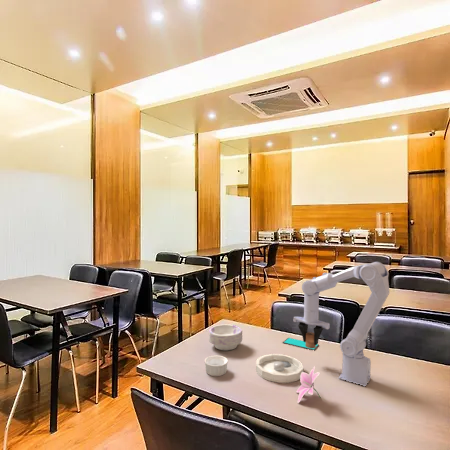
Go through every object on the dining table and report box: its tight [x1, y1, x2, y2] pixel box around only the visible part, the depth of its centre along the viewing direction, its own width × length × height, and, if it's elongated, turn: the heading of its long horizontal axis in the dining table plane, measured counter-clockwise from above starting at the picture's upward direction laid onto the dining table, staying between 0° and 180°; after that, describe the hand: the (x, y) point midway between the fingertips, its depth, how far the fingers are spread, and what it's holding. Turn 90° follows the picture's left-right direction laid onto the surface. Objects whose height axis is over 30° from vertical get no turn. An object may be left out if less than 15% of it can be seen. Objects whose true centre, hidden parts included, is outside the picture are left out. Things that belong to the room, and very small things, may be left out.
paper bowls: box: [208, 323, 243, 351], centre depth 145 cm, size 15×15×8 cm
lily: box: [295, 365, 322, 404], centre depth 105 cm, size 12×12×10 cm
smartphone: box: [282, 337, 320, 351], centre depth 149 cm, size 7×1×15 cm
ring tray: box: [255, 353, 304, 384], centre depth 123 cm, size 18×18×3 cm
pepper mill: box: [306, 331, 316, 348], centre depth 129 cm, size 4×4×5 cm
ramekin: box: [204, 355, 229, 377], centre depth 122 cm, size 9×9×4 cm
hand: (310, 342), depth 129 cm, fingers closed on pepper mill, 4 cm apart
